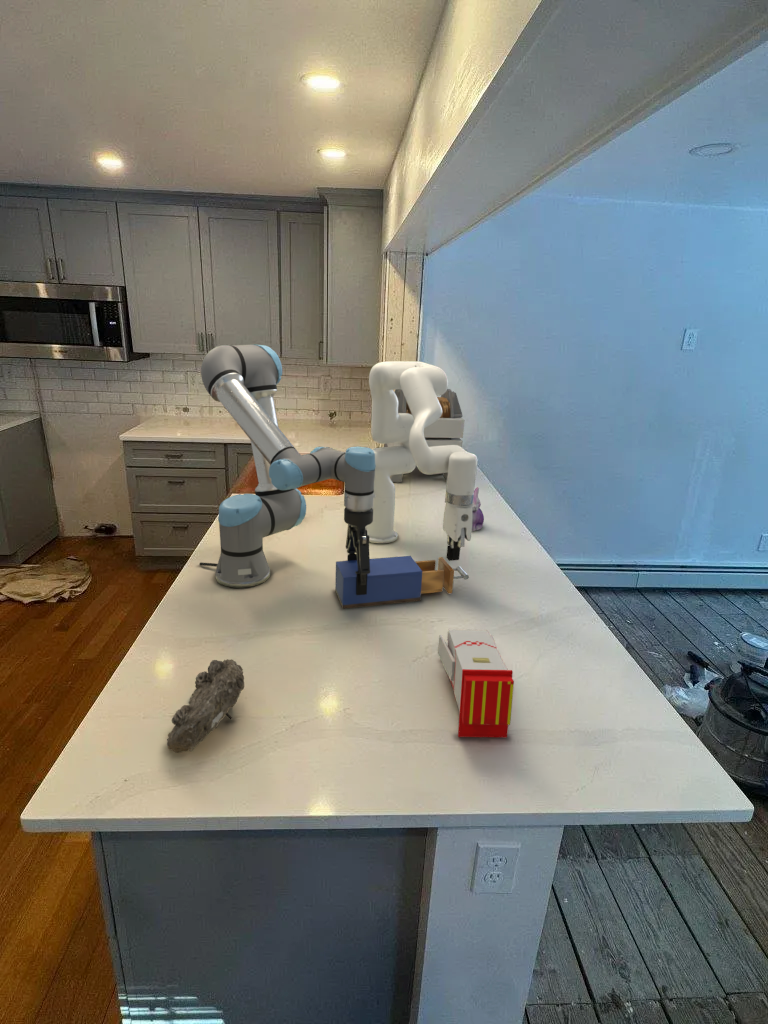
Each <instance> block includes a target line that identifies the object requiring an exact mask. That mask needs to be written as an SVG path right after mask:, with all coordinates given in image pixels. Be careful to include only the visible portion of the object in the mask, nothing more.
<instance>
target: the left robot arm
mask: <svg viewBox="0 0 768 1024" xmlns="http://www.w3.org/2000/svg"><path fill="white" fill-rule="evenodd" d="M282 376H283V365H282V362H281V359H280V357H279V355H278V354H277V352H276V351H275V350H273V349H272V348H271V347H270V346H268V345H265V344H256V343H254V344H233V345H232V344H231V345H228V344H223V345H218V346H215V347H213V348H212V349H210V350H209V351H208V352H207V353H206V354H205V356H204V358H203V360H202V362H201V367H200V377H201V382H202V384H203V386H204V388H205V390H206V391H207V393H208V394H209V396H210V397H211V398H212V399H213V400H214V401H215V402H217V403H220V404H222V406H223V407H224V409H225V410H226V411H227V413H229V414H230V416H231V417H232V419H233V420H234V421H235V422H236V423H237V425H238V426H239V427H240V428H241V430H242V431H243V432H244V434H245V436H247V438H248V439H249V440H250V445H251V451H252V455H253V460H254V465H255V470H256V477H257V482H258V484H257V486H255V489H254V493H243V494H240V493H239V494H234V495H232V496H229V497H227V498H225V499H224V500H223V501H221V502H220V504H219V507H218V517H217V521H218V526H219V528H218V529H219V544H220V555H219V558H218V561H217V563H214V562H202V561H200V562H199V566H205V567H216V569H215V573H214V574H215V580H216V582H217V583H218V584H220V585H222V586H225V587H227V588H237V589H239V588H240V589H241V588H243V589H244V588H250V587H255V586H259V585H261V584H264V583H265V582H266V581H268V579H270V577H271V568H270V565H269V562H268V560H267V556H266V554H265V552H264V545H263V544H264V540H263V539H264V538H267V537H269V536H272V535H275V534H278V533H281V532H284V531H289V530H292V529H293V528H295V527H297V526H300V525H301V523H302V522H303V521H304V519H305V517H306V514H307V501H306V498H305V496H304V495H303V493H302V492H301V490H299V488H301V487H304V486H308V485H311V484H316V483H319V482H323V481H327V480H335V481H339V482H342V483H344V491H343V492H344V493H343V494H344V495H343V506H344V508H343V521H344V523H345V524H346V525H347V531H346V539H345V549H347V550H346V553H347V559H346V561H350V560H357V566H358V571H356V572H355V574H357V577H356V595H365V594H367V574H370V559H371V558H370V542H369V538H370V537H369V535H367V530H366V529H365V527H366V526H367V525H369V524H371V523H372V522H373V509H372V507H373V498H375V497H376V495H375V494H374V477H375V468H376V465H375V453H374V451H373V450H372V449H373V448H370V447H367V446H350V447H348V448H346V450H345V451H342V450H338V449H335V448H333V447H329V446H316V447H314V448H313V449H312V450H311V451H310V452H309V453H306V454H305V453H304V454H301V453H300V452H299V450H297V448H296V447H295V446H294V445H293V444H292V442H291V441H290V440H289V439H288V438H287V437H286V435H285V434H284V433H283V432H282V430H281V429H280V427H279V421H278V417H277V411H276V405H275V400H274V396H275V395H276V393H277V392H278V387H277V385H278V384H280V382H281V380H282Z"/></svg>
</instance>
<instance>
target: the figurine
mask: <svg viewBox="0 0 768 1024" xmlns="http://www.w3.org/2000/svg"><path fill="white" fill-rule="evenodd" d="M479 492H480V488H479V487H478V486H477V487H475V488H474V497H473V505H472V532H474V531H479V530H481V529H482V528H483V525H484V521H485V516H484V513H483V511H482V509H481V508H480V507H481V505H482V503H481V500H480V498H479Z"/></svg>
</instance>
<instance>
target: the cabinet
mask: <svg viewBox="0 0 768 1024" xmlns="http://www.w3.org/2000/svg"><path fill="white" fill-rule="evenodd" d="M356 571H358V566H357V560H350V561H347V560H338V561H335V584H334V585H335V587H334V591H335V593H336V596H337V598H338V600H339V603H340V605H341V608H342V609H343V610H344V609H353V608H355V609H356V608H363V607H375V606H382V605H383V606H384V605H393V604H401V603H403V604H404V603H411V602H412V603H413V602H420V601H421V595H422V594H421V583H422V570H421V569H420V567H419V566H418V565H417V564H416V562H415V560H414V558H413V556H411V555H402V556H390V557H377V558H376V557H375V558H370V574H367V594H365V595H356V577H357V574H355V572H356Z"/></svg>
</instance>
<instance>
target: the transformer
mask: <svg viewBox="0 0 768 1024" xmlns="http://www.w3.org/2000/svg"><path fill="white" fill-rule="evenodd" d="M394 392H395V394H396V396H397V398H398V413H409V414H411V415H412V413H411V411H410V408H409V406H408V403H407V401H406V398H405V396H404V393H403V391H402V390H401V389H397V390H394ZM437 398H438V401H439V403H440V405H441V408H442V415H441V417H440V418H439V419H438V420H437V421H436V422H434V423H433V424H431V425H429V426H427V427H426V428H424V431H423V432H424V437H425V440H426V442H427V445H428V447H433V446H443V445H444V446H445V445H458V446H460V447H462V448H463V442H464V441H463V440H462V439H463V438H464V431H465V430H464V429H465V419H464V418H463V411H462V408H461V405H460V402H459V398H458V395H457V392H455V391H453V390H452V389H451V388H447V391H446V392H445V393H444V394H443V395H440V396H437ZM389 446H399V443H388V444H383V447H389ZM440 474H441V475H443V478H444V479H445V481H446V482H447V475H448V473H440ZM403 475H404V474H397V475H391V476H390V479H391V481H392V482H393V483H402V482H403Z"/></svg>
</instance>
